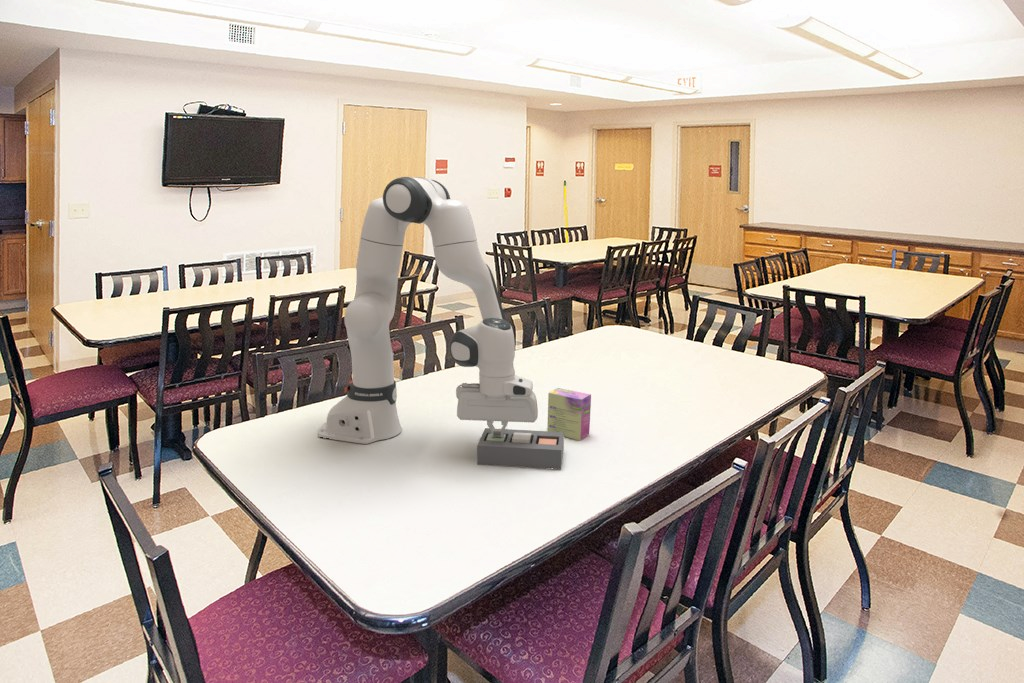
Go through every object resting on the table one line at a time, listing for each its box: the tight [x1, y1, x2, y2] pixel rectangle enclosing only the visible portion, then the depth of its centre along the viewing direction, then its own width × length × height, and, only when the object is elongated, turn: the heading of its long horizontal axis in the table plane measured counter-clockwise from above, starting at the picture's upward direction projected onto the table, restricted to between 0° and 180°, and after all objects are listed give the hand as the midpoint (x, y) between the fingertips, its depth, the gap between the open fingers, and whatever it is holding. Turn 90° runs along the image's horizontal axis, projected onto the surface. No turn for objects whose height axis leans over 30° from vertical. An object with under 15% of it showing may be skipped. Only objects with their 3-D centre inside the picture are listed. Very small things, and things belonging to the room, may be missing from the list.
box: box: [546, 387, 592, 441], centre depth 189 cm, size 10×6×12 cm, turn 58°
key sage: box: [486, 434, 506, 442], centre depth 174 cm, size 4×4×2 cm
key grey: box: [512, 432, 531, 443], centre depth 173 cm, size 4×4×2 cm
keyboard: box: [476, 427, 565, 470], centre depth 174 cm, size 21×12×5 cm, turn 83°
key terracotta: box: [538, 438, 557, 445], centre depth 173 cm, size 4×4×2 cm
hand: (497, 436), depth 174 cm, fingers closed
